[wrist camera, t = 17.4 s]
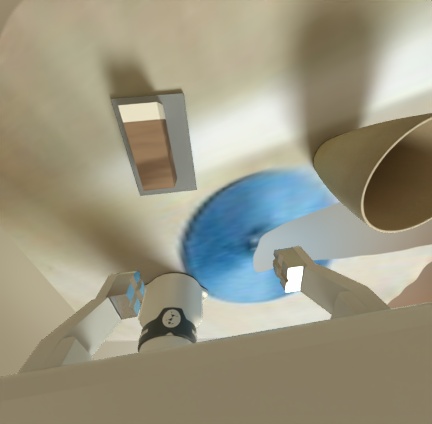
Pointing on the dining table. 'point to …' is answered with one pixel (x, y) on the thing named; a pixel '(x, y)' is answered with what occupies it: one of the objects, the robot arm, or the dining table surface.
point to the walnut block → (150, 144)
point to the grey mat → (177, 136)
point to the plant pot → (382, 172)
